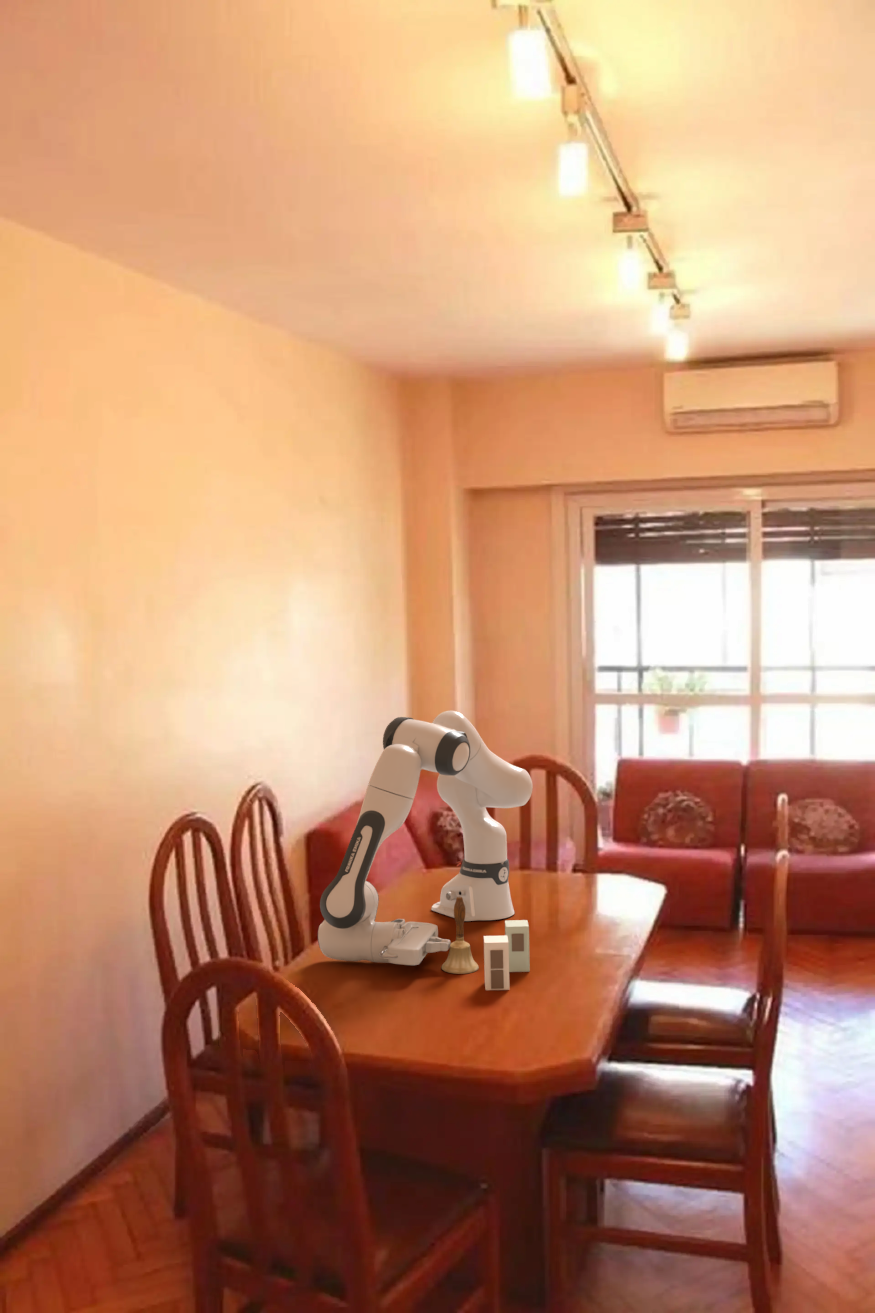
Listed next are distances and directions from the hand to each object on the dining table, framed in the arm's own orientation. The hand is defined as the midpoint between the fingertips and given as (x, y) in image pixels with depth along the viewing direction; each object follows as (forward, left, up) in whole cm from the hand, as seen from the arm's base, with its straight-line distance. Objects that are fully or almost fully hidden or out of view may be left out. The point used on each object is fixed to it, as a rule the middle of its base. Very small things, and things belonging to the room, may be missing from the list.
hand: (449, 945), depth 253 cm
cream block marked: (+16, -3, -5) cm, 17 cm away
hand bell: (+2, +1, -5) cm, 6 cm away
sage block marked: (+12, +9, -5) cm, 16 cm away
